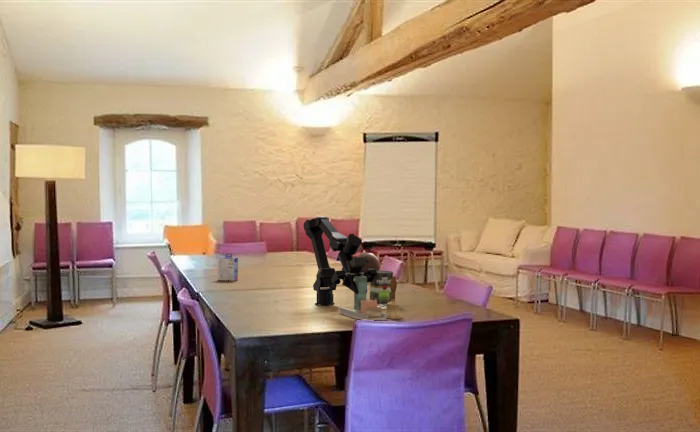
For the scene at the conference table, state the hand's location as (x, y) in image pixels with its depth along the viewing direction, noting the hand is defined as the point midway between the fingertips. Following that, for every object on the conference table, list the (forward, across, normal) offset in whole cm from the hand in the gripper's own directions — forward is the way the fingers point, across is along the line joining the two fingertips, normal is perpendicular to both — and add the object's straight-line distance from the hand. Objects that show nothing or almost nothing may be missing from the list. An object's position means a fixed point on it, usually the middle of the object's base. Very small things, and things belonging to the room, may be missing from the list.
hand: (362, 293), depth 265 cm
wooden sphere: (-62, +61, +75) cm, 115 cm away
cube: (+8, 0, +1) cm, 8 cm away
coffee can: (-9, +23, +22) cm, 34 cm away
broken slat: (+4, +10, +9) cm, 14 cm away
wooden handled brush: (+11, +10, +2) cm, 15 cm away
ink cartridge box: (-82, -9, +95) cm, 126 cm away
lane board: (+7, +5, +6) cm, 10 cm away
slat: (+8, 0, +3) cm, 8 cm away
